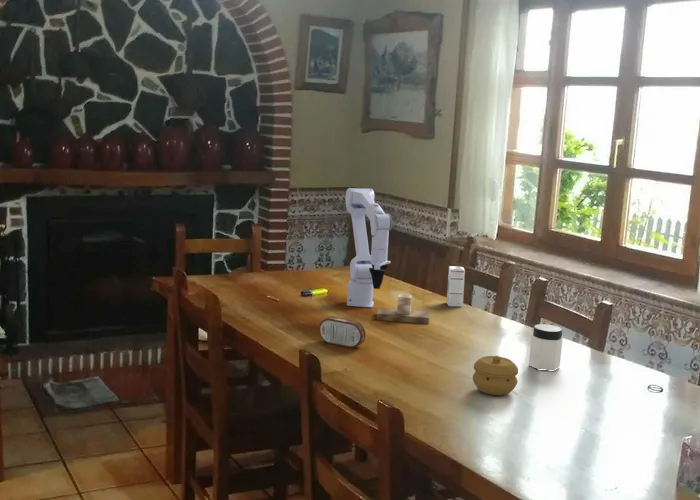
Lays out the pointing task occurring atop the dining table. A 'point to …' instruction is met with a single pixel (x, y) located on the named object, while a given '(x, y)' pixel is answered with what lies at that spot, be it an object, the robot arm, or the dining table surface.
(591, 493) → the dining table surface
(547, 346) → the jar
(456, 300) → the syrup box
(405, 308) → the oak block
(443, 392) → the dining table surface
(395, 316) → the walnut slab
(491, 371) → the pot
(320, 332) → the tin
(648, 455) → the dining table surface
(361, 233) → the robot arm
